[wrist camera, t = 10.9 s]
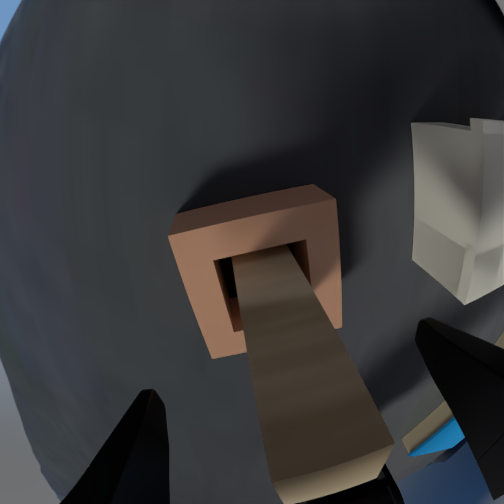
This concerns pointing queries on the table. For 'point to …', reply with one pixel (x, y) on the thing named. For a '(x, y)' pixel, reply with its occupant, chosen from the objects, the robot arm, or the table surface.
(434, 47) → the table surface
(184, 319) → the table surface
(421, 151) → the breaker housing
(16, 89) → the table surface
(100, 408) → the table surface
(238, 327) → the holder
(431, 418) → the book
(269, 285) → the tan square peg
